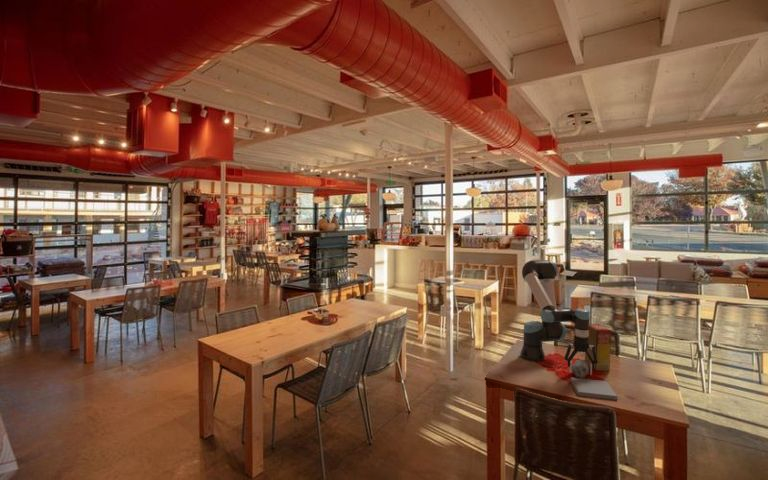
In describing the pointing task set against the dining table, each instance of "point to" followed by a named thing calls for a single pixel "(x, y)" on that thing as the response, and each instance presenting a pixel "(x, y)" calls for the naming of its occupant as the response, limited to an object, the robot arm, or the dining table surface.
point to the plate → (593, 388)
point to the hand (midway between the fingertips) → (580, 373)
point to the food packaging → (599, 346)
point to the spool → (580, 368)
